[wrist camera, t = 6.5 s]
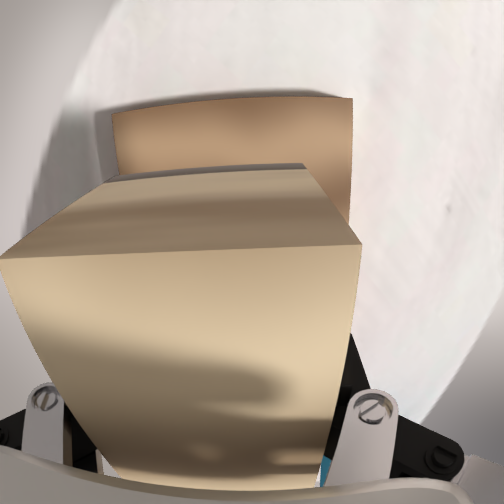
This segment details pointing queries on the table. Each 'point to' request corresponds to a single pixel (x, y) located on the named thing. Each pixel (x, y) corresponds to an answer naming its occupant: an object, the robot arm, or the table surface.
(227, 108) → the oak board
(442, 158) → the table surface
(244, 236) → the block
